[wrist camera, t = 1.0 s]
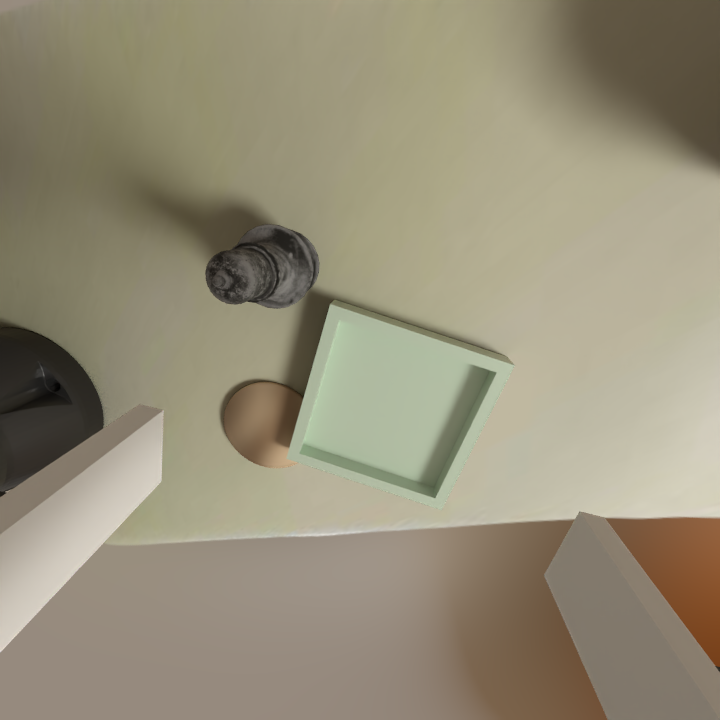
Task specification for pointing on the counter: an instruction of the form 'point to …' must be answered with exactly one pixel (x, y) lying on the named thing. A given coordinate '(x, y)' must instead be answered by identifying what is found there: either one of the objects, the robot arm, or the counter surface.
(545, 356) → the counter surface
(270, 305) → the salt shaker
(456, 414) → the tray
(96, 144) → the counter surface
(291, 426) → the cork coaster
